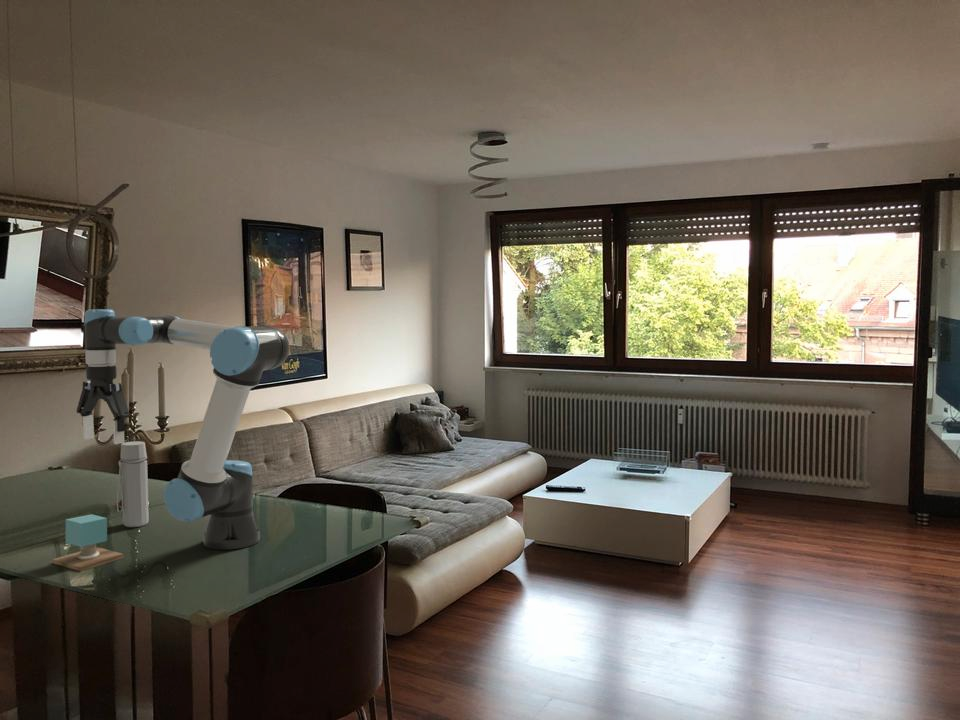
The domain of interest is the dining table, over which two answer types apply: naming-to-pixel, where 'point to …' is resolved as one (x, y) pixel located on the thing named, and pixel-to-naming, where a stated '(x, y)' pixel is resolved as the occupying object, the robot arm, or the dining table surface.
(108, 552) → the wooden peg stand
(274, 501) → the dining table surface
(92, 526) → the teal block
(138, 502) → the water bottle
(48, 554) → the dining table surface
